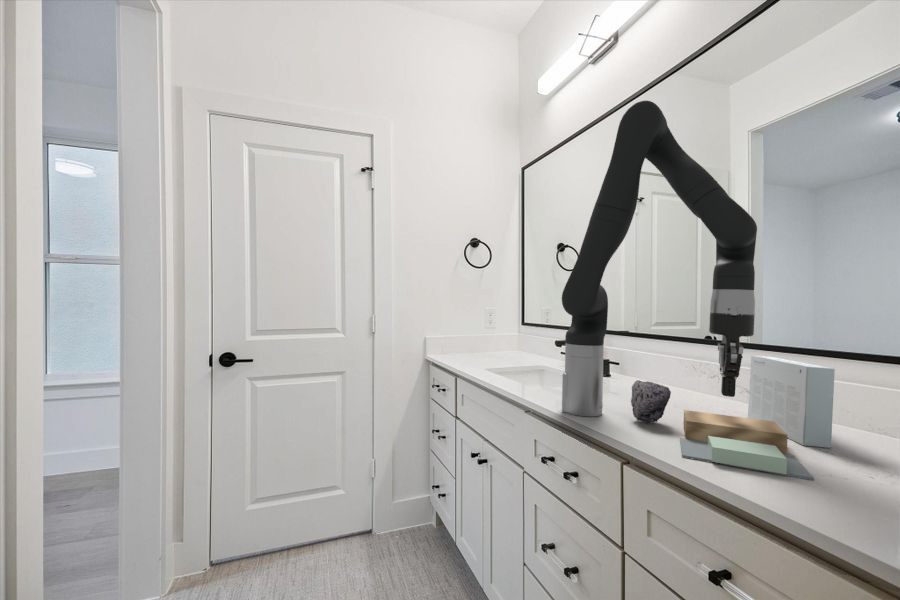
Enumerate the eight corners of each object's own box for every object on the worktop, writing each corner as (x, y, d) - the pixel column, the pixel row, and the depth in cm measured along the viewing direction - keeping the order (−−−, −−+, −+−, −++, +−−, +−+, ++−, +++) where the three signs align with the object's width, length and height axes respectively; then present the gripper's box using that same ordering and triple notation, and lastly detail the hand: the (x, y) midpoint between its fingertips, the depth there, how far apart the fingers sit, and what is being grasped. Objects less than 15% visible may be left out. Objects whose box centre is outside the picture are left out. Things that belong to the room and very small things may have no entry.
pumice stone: (673, 431, 87) (674, 385, 87) (635, 427, 89) (635, 382, 89) (661, 418, 97) (662, 377, 97) (627, 415, 99) (627, 375, 99)
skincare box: (835, 449, 78) (836, 368, 78) (803, 446, 79) (804, 366, 79) (771, 419, 98) (772, 355, 99) (746, 418, 99) (747, 354, 100)
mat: (682, 457, 71) (682, 454, 71) (680, 439, 81) (680, 437, 81) (814, 480, 63) (814, 477, 63) (794, 457, 72) (794, 455, 72)
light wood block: (685, 440, 80) (686, 420, 80) (683, 427, 89) (683, 409, 89) (787, 456, 73) (787, 434, 73) (773, 440, 82) (774, 421, 82)
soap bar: (708, 435, 75) (707, 449, 75) (712, 447, 68) (712, 461, 68) (775, 445, 70) (775, 460, 70) (786, 458, 64) (786, 474, 64)
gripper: (707, 311, 90) (703, 387, 90) (713, 311, 78) (709, 399, 78) (748, 312, 86) (744, 392, 86) (761, 313, 75) (756, 405, 75)
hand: (727, 395), depth 82 cm, fingers closed
